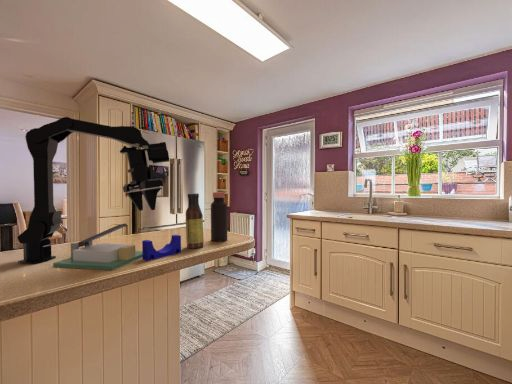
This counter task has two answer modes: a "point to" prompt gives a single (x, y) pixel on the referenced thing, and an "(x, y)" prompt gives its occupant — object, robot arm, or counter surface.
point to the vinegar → (218, 217)
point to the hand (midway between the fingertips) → (146, 210)
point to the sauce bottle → (194, 222)
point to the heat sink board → (96, 264)
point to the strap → (101, 234)
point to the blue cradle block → (167, 250)
